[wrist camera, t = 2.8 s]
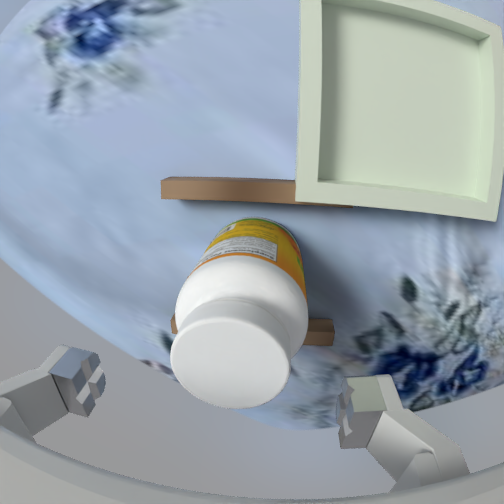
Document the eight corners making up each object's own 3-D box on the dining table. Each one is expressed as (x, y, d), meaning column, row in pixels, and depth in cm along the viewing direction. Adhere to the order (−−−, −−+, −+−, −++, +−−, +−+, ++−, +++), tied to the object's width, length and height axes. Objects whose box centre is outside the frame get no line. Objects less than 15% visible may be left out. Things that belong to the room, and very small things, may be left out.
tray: (483, 33, 12) (500, 26, 10) (478, 212, 16) (496, 221, 14) (299, -9, 13) (300, -25, 11) (294, 193, 17) (295, 201, 15)
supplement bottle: (296, 304, 20) (300, 428, 11) (210, 295, 20) (159, 409, 11) (306, 219, 18) (326, 306, 9) (210, 211, 18) (140, 287, 9)
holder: (349, 184, 17) (354, 188, 15) (329, 332, 20) (332, 345, 19) (170, 176, 18) (160, 180, 16) (178, 321, 21) (172, 333, 20)
